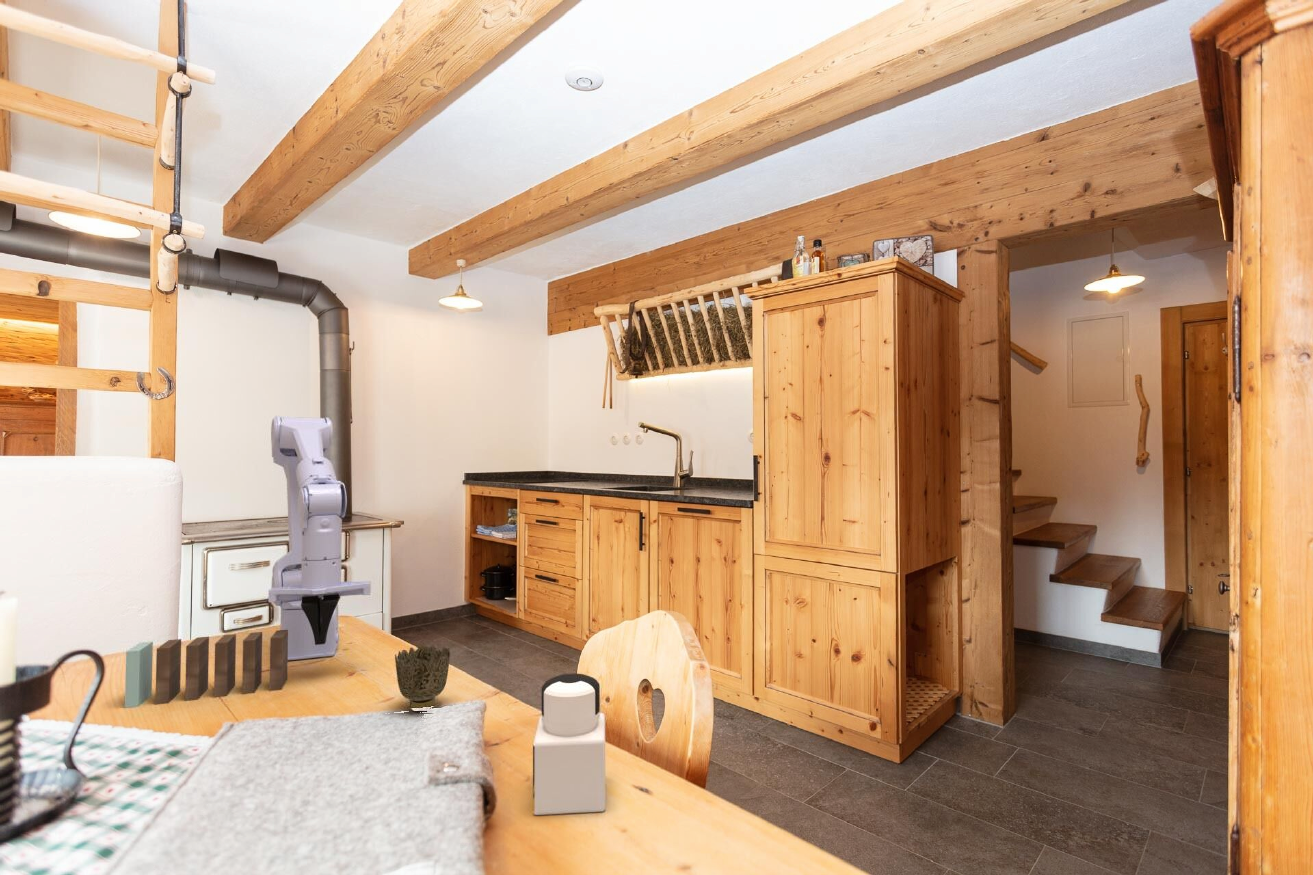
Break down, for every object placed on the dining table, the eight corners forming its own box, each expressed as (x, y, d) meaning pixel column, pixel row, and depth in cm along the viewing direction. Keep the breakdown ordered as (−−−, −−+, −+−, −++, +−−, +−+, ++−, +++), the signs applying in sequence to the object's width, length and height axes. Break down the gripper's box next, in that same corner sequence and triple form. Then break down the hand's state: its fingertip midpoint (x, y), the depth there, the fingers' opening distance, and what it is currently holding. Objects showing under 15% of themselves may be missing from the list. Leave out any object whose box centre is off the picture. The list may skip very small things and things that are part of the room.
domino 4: (235, 685, 100) (236, 633, 101) (226, 696, 96) (227, 642, 96) (223, 686, 100) (224, 635, 100) (214, 697, 95) (215, 643, 95)
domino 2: (180, 691, 98) (181, 638, 98) (168, 702, 93) (169, 647, 93) (167, 692, 97) (168, 639, 98) (155, 704, 93) (156, 648, 93)
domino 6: (287, 679, 103) (288, 629, 103) (281, 689, 98) (282, 637, 99) (275, 680, 102) (276, 630, 103) (269, 691, 98) (270, 638, 98)
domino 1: (151, 694, 97) (152, 641, 97) (138, 706, 92) (139, 650, 92) (138, 696, 96) (139, 642, 96) (124, 708, 91) (126, 651, 92)
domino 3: (208, 688, 99) (209, 636, 99) (198, 699, 94) (199, 644, 95) (195, 689, 99) (196, 637, 99) (185, 701, 94) (186, 646, 94)
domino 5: (261, 682, 102) (262, 631, 102) (254, 692, 97) (255, 639, 97) (249, 683, 101) (250, 632, 101) (242, 694, 96) (243, 640, 97)
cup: (382, 714, 88) (382, 656, 88) (419, 696, 95) (419, 642, 95) (426, 722, 85) (426, 661, 86) (461, 702, 92) (461, 646, 93)
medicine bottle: (539, 780, 70) (539, 669, 70) (605, 777, 70) (604, 666, 71) (532, 816, 62) (532, 692, 63) (605, 812, 63) (605, 689, 64)
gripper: (264, 564, 97) (263, 655, 96) (369, 558, 102) (368, 644, 102) (273, 558, 103) (272, 642, 103) (371, 552, 109) (370, 633, 108)
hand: (320, 642), depth 103 cm, fingers closed
